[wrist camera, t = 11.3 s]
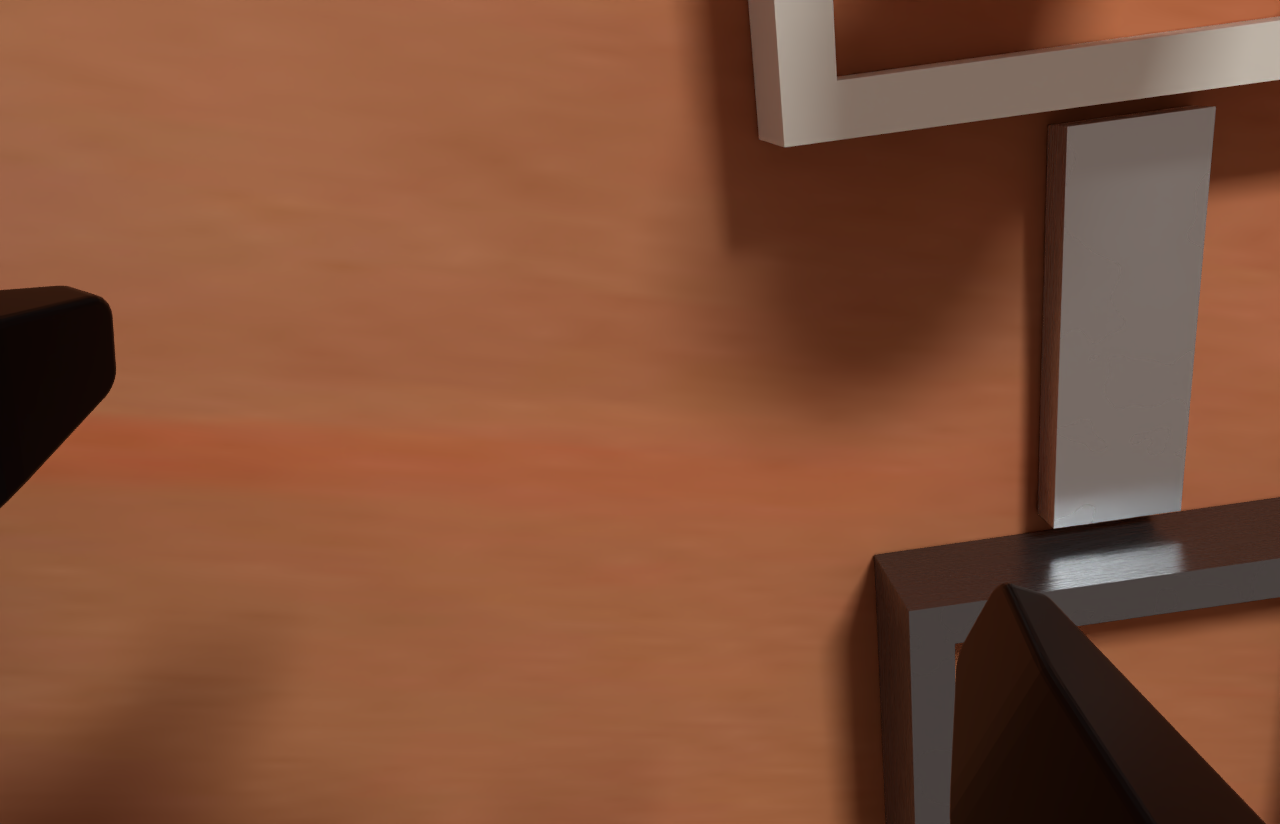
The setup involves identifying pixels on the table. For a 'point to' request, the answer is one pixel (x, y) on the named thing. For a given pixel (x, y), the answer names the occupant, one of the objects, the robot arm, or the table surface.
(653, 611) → the table surface
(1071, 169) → the rail strip
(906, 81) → the collar
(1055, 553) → the collar
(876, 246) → the table surface
